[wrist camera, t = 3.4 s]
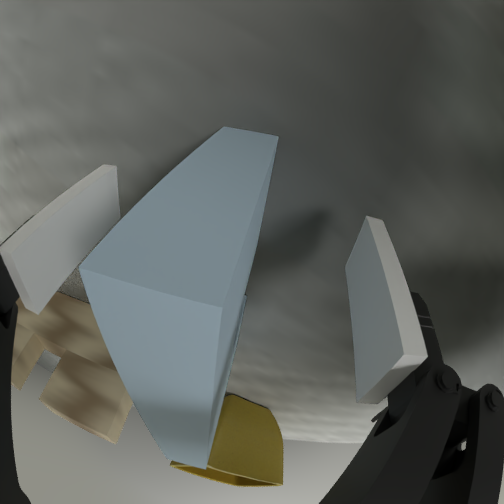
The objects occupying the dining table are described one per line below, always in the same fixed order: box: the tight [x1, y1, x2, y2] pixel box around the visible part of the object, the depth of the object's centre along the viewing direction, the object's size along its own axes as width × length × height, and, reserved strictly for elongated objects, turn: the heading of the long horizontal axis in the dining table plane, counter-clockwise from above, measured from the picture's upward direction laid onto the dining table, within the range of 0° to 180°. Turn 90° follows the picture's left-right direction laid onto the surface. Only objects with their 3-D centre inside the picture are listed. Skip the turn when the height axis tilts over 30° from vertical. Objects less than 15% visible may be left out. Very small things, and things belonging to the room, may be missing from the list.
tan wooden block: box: [11, 291, 133, 444], centre depth 19 cm, size 16×2×10 cm, turn 81°
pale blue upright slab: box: [78, 127, 279, 469], centre depth 13 cm, size 16×2×10 cm, turn 171°
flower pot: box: [170, 395, 283, 487], centre depth 25 cm, size 9×9×9 cm
